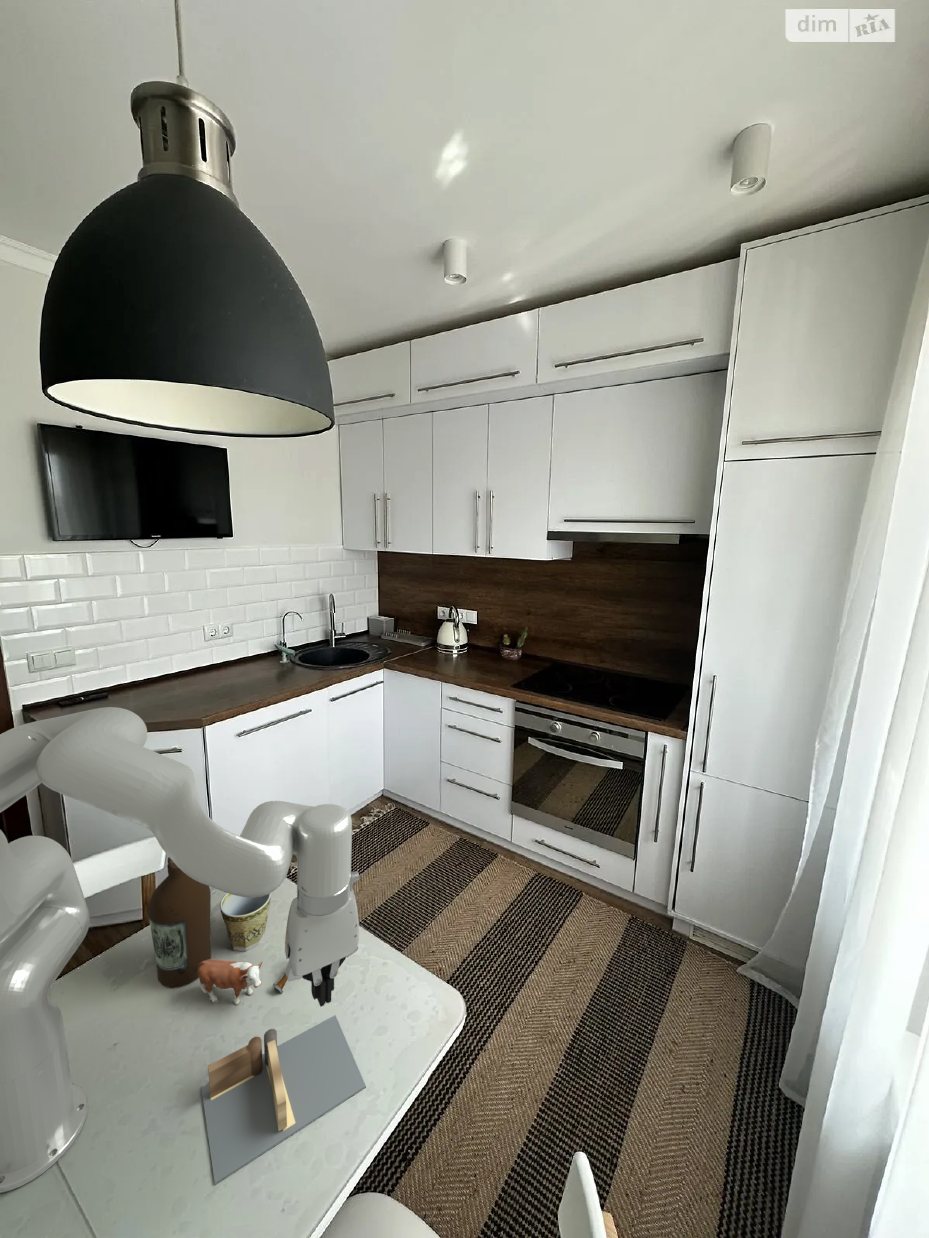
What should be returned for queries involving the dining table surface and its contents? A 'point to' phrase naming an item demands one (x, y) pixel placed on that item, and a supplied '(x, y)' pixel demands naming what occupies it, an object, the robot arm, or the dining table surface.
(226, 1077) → the fence section
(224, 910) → the ceramic cup
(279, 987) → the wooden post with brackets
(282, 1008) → the dining table surface
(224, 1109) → the card
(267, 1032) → the tan wooden board
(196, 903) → the olive oil
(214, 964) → the bull figurine
